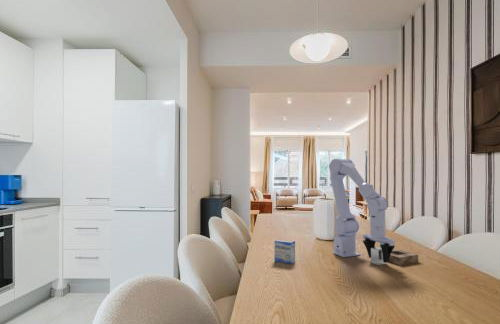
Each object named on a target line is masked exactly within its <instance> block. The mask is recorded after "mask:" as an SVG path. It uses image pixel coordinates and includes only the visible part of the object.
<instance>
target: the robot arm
mask: <svg viewBox="0 0 500 324" xmlns="http://www.w3.org/2000/svg"><path fill="white" fill-rule="evenodd" d="M328 169H329V173H330V177H329V179H330V183H331V188H332V191H333V196H334V202H335V205H336V209H337V216H336V217H335V218H334V221H335V224H334V225H335V231H336V233H337V235H335V236H334V237H333V251H332V254H333V255H337V256H340V257H342V258H349V257H350V258H351V257H354V256H361V254H360V253H359V252H356V251H357V250H356V249H357V248H356V246H357V245H356V244H357V243H356V242H357V241H356V235H357V233H358V231H359V228H360V225H359V223H358V221H357V219H356V216H355V215H354V214H353V213H352V212H351V210H350V205H349V201H348V196H347V193H346V188H345V184H344V179H345V178H346V177H347V176H348V177H349V178H350V179H351V180H352V181H353V182H354V183H355V184H356V186H358V193H359V194H360V195H361V197H363V199H364V200H365V202H366V207H367V209H368V211H369V217H370V218H369V219H370V220H369V221H370V228H369V229H370V234H369V233H364V234H362V239H364V240H362V243H363V244H364V246H365V248H366V252H367V254H368V258H370V259H371V248H375V247H376V244H377V243H379V247H380V246H381V249H382V253H383V262H384V263H386V264H387V263H390V262H389V258H390V255H391V252H392V250H393V249H395V246H396V245H395V242H396V241H395V240H394V239H393V240H391V239H392V238H391V239H388V238H389V237H387V236H386V235H387V234H386V210H387V209H388V207H389V202H388V200H387V199H386V198H385V197H384V196H381V194H380V193H378V192H377V190H376V189H375V188H374V185H373V184H371V183H369V182H366V181H365V179H364V178H363V177H362V176H361V173H359V171H358V169H357V168H356V164H355V163H354V162H353V161H352V159H350V158H333V159H332V160H331V161H330V163H329V164H328ZM376 242H377V243H376ZM380 243H384V244H383V245H380Z"/></svg>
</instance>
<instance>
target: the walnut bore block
mask: <svg viewBox="0 0 500 324" xmlns="http://www.w3.org/2000/svg"><path fill="white" fill-rule="evenodd" d="M388 263H392V264H394V265H398V266H403V265H409V264H414V263H419V254H416V253H413V252H410V251H406V250H402V249H398V248H394V249H393V250H392V252H391V255H390V258H389V262H388Z"/></svg>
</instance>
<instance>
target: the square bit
mask: <svg viewBox="0 0 500 324" xmlns="http://www.w3.org/2000/svg"><path fill="white" fill-rule="evenodd" d="M370 262H371V264H374V265H378V266H382V265H386V264H387V263H384V262H383V253H382V249H381V248H380V246H379V247H378V246H375V247H374V248H371V258H370Z"/></svg>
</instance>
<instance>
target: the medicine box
mask: <svg viewBox="0 0 500 324" xmlns="http://www.w3.org/2000/svg"><path fill="white" fill-rule="evenodd" d="M273 249H274V257H273V258H274V259H273V261H274V262H276V263H282V264H291V265H292V264H294V263H295V262H296V241H295V240H289V239H288V240H286V239H276V240H274V248H273Z"/></svg>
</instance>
